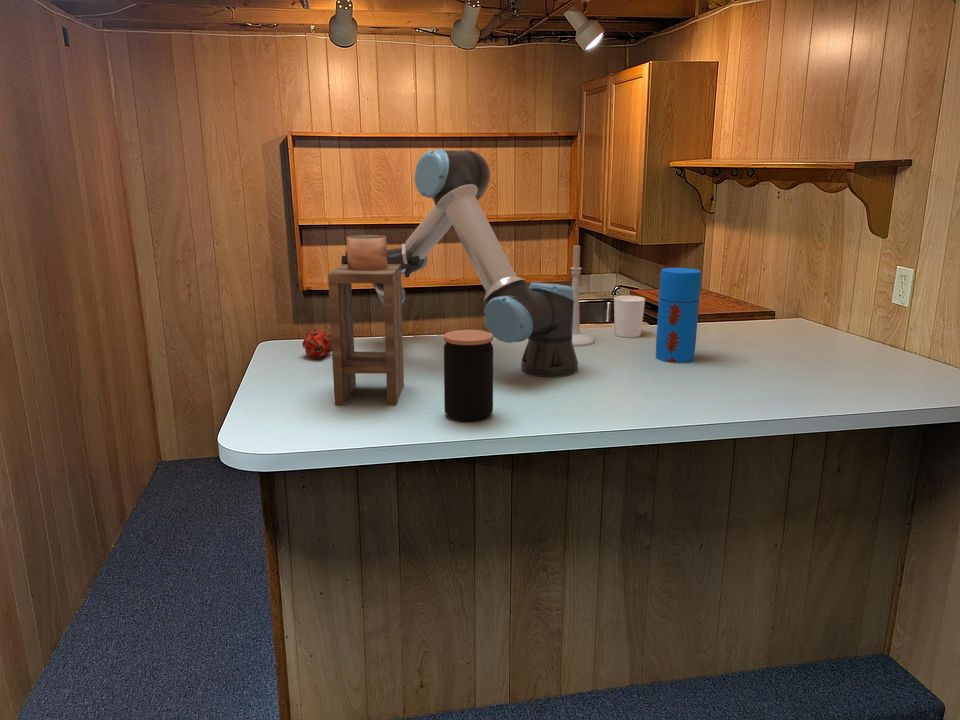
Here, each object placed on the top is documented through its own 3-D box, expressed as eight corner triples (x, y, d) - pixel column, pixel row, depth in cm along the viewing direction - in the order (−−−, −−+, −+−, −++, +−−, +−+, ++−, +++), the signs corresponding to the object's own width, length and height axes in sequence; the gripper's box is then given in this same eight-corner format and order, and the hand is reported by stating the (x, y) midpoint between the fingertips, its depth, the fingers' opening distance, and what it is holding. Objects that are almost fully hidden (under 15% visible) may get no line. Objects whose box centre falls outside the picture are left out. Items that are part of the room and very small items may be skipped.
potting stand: (347, 384, 180) (342, 264, 173) (403, 384, 180) (400, 264, 172) (334, 405, 165) (327, 274, 157) (396, 405, 165) (392, 274, 157)
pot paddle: (363, 256, 188) (362, 228, 186) (398, 256, 188) (397, 228, 186) (344, 270, 163) (343, 238, 161) (384, 270, 163) (383, 238, 161)
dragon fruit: (321, 355, 213) (322, 372, 203) (296, 341, 210) (296, 357, 199) (337, 333, 212) (339, 349, 201) (312, 318, 208) (313, 333, 198)
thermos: (652, 360, 203) (657, 271, 196) (658, 351, 212) (663, 266, 206) (692, 364, 199) (699, 274, 192) (696, 355, 208) (703, 269, 202)
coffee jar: (494, 407, 163) (495, 330, 159) (490, 424, 153) (491, 341, 148) (448, 406, 164) (447, 328, 160) (440, 422, 154) (439, 340, 150)
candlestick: (545, 342, 223) (547, 244, 215) (564, 334, 233) (568, 241, 226) (582, 348, 216) (586, 247, 208) (601, 340, 226) (605, 243, 219)
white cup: (624, 339, 227) (627, 302, 224) (605, 333, 235) (607, 297, 232) (649, 336, 231) (651, 299, 228) (629, 330, 240) (631, 294, 237)
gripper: (431, 292, 200) (425, 263, 180) (341, 292, 200) (325, 262, 180) (431, 267, 202) (426, 235, 182) (342, 266, 202) (327, 234, 182)
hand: (376, 248), depth 181 cm, fingers open, 13 cm apart
